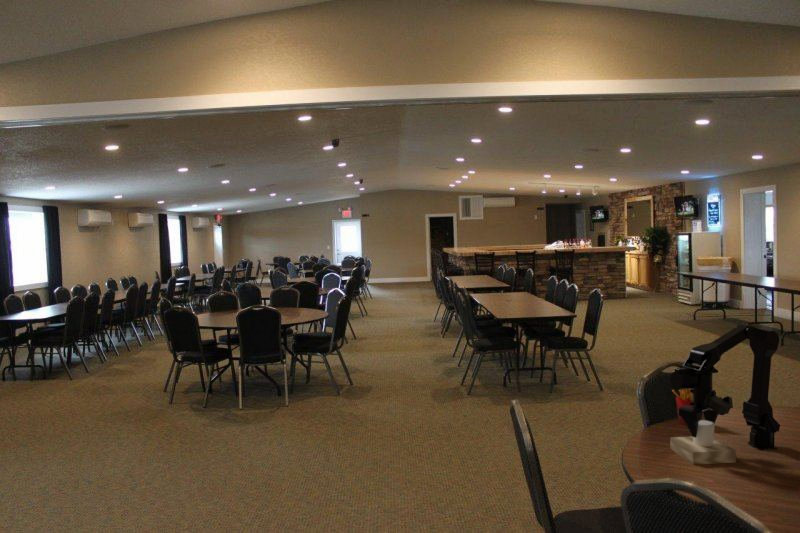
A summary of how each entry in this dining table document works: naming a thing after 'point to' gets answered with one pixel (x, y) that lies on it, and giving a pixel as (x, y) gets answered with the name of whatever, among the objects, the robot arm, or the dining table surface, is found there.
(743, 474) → the dining table surface
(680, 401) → the french fries
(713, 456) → the birch block
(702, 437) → the white cup
